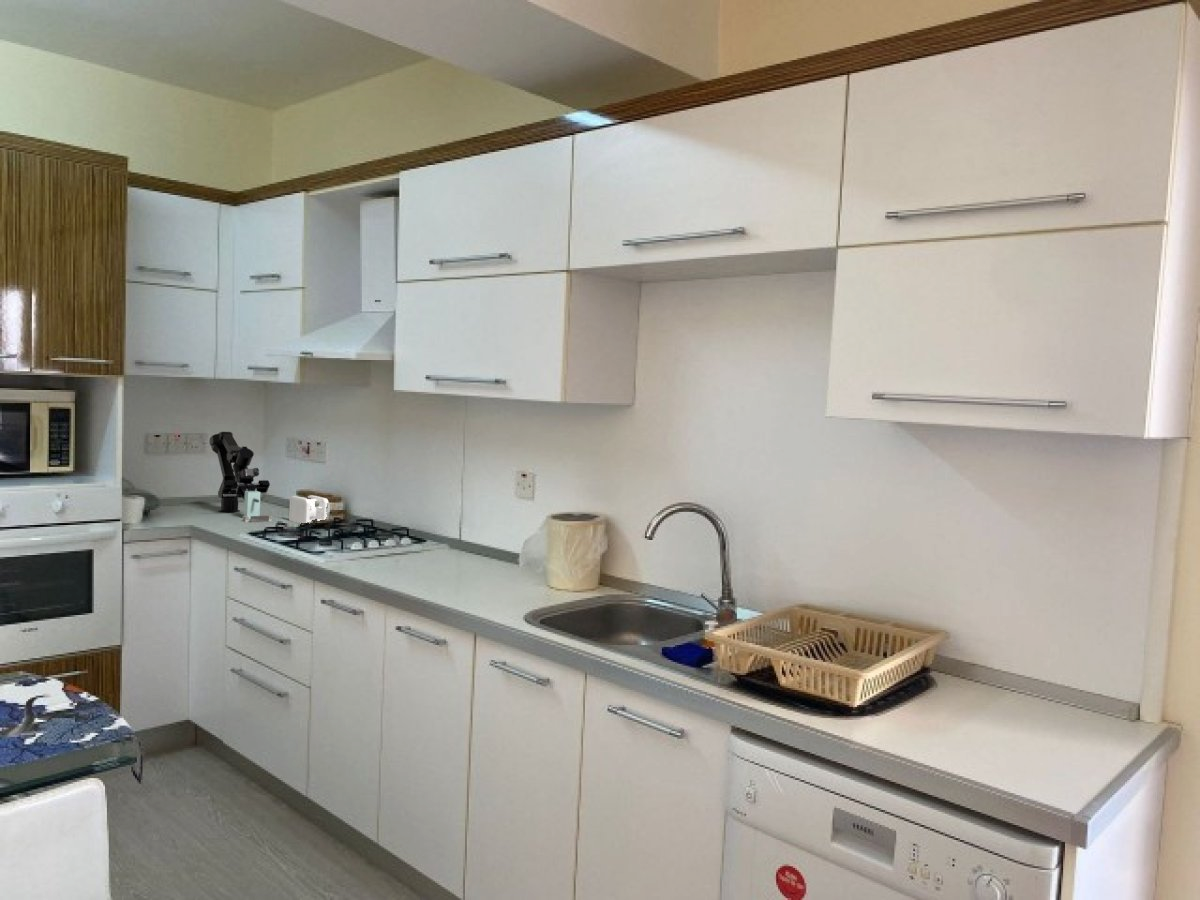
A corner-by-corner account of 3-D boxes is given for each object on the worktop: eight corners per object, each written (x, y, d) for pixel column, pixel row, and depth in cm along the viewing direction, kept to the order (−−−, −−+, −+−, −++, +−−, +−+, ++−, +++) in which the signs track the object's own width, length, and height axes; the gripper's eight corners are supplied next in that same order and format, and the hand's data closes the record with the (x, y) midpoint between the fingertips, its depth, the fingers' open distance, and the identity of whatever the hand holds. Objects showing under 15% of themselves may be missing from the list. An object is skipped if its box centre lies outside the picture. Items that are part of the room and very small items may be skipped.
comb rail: (232, 520, 363) (233, 511, 363) (262, 518, 371) (262, 510, 370) (245, 525, 351) (245, 517, 350) (275, 524, 358) (276, 515, 358)
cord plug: (242, 517, 363) (243, 491, 362) (257, 517, 366) (258, 491, 366) (249, 521, 356) (250, 494, 355) (264, 520, 359) (265, 493, 359)
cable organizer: (287, 523, 364) (288, 495, 363) (310, 521, 372) (311, 494, 371) (305, 528, 354) (306, 499, 353) (329, 526, 362) (330, 498, 361)
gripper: (223, 461, 363) (231, 490, 355) (269, 461, 374) (277, 489, 366) (217, 478, 369) (224, 507, 361) (262, 478, 381) (270, 506, 373)
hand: (249, 502), depth 365 cm, fingers closed
